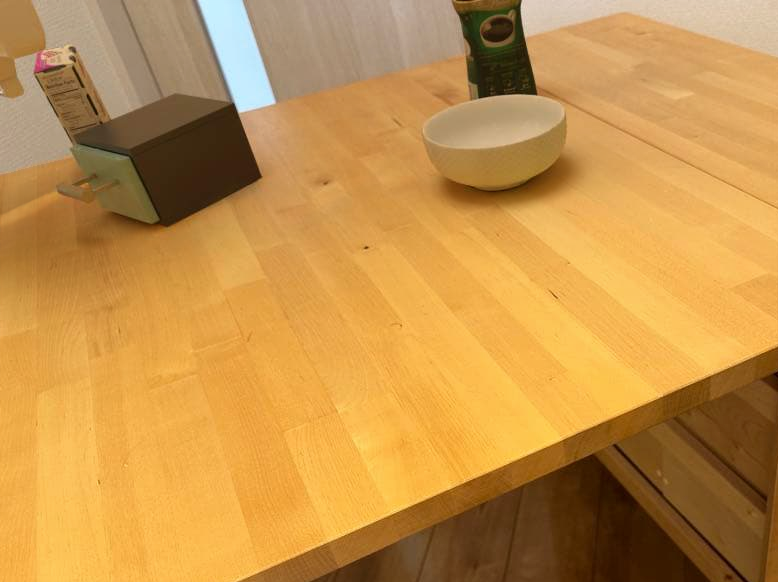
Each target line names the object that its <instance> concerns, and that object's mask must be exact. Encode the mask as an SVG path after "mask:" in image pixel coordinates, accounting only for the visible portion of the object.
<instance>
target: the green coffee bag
mask: <svg viewBox="0 0 778 582" xmlns="http://www.w3.org/2000/svg"><path fill="white" fill-rule="evenodd" d="M522 2H523V0H451V4H452V7H453V9H454V10H455V13H456V14H457V17H458V18H459V22H460V25H461V26H460V27H461V32H462V37H463V38H462V39H463V44H464V45H463V46H464V52H465V62H466V75H467V85H468V95H469V101H472V100H476V99H481V98H487V97H494V96H503V95H536V96H538V89H537V83H536V79H535V75H534V70H533V67H532V62H531V58H530V54H529V51H528V46H527V41H526V36H525V30H524V25H523V17H522Z"/></svg>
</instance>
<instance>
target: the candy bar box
mask: <svg viewBox="0 0 778 582" xmlns="http://www.w3.org/2000/svg"><path fill="white" fill-rule="evenodd" d="M32 74H33V75H34V78H35V79H36V81H37V83H38V84H39V87H40V88H41V90H42V92H43V95H45V97H46V100H47V101H48V103H49V105H50V107H51V108H52V110H53V112H54V114H55V116H56V118H57V119H58V121H59V123H60V124H61V127H62V128H63V130H64V132H65V133H66V135H67V137H68V138H69V141H70V143H71V144H72V147H73V146H75V145H77V143H76V141H75V139H74V137H73V135H75V134H78V133H80V132H83V131H85V130H87V129H90V128H92V127H95V126H97V125H100V124H102V123H104V122H107V121H109V120H112V118H111V116H110V114H109V112H108V110H107V108H106V106H105V104H104V103H103V99H102V98H101V96H100V94H99V92H98V90H97V87H96V86H95V85H94V82H93V80H92V78H91V76H90V74H89V72H88V70H87V69H86V66H85V64H84V62H83V60H82V59H81V57H80V54H79V53H78V50H77V48H76V46H75V44H74V43H73V44H72V43H71V44H67V45H66V44H65V45H62V46H57V47H53V48H50V49H44V50H42V51H39V52H36V58H35V63H34V68H33V73H32Z"/></svg>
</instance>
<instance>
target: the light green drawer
mask: <svg viewBox="0 0 778 582" xmlns="http://www.w3.org/2000/svg"><path fill="white" fill-rule="evenodd" d="M69 150H70V152H71V154H72V156H73V158H74V160H75V162H76V163H77V165H78V167H79V169H80V171H81V173H82V174H83V176H82V177H80V178H78V179H75V180H73V181H71V182H64V181H60V182H58V183H57V184H56V185H55V190H56V192H57V193H58V194H59V195H61V196H64V197H66V198H67V197H68V198H70V199H74V200H77V201H78V202H79V201H80V202H83V203H85V204H92V203H93V202H94V201H95V199H96V201H97V203H98V204H99V206H100V208H101V209H104V210H107V211H110V212H112V213H116V214H117V215H118V214H119V215H122V216H125V217H129V218H131V219H134V220H137V221H140V222H143V223H146V224H149V225H153V224H155V222H157V221H159V220H160V219H159V217H158V215H157V213H156V211H155V209H154V206H153V204H152V202H151V200H150V198H149V196H148V194H147V192H146V190H145V188H144V186H143V184H142V182H141V180H140V178H139V176H138V174H137V172H136V170H135V168H134V165H133V163H132V161H131V159H130V157H129V155H125V154H121V153H116V152H112V151H108V150H104V149H100V148H96V149H95V148H91V147H87V146H83V145H79V144H77V145H75V146H73V145H72V146H70V147H69ZM86 184H88V186H89V188H90V189H89V188H84V187H81V186H83V185H86Z"/></svg>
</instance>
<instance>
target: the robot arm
mask: <svg viewBox="0 0 778 582" xmlns="http://www.w3.org/2000/svg"><path fill="white" fill-rule="evenodd" d="M46 48H47V38H46V33H45V30H44V27H43V25H42V22H41V20H40V17H39V15H38V12H37V10H36V7H35V5H34V3H33V1H32V0H0V97H3V98H4V97H5V98H8V99H15V98H18V97H21V96H23V95H24V94H25V89H24V87H23V85H22V83H21V81H20V79H19V77H18V73H17V68H16V62H15V60H16V59H20V58H23V57H28V56H30V55H33V54H37V53H39V52H41V51H44V50H46Z"/></svg>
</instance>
